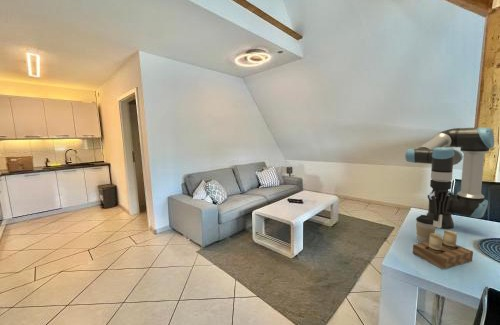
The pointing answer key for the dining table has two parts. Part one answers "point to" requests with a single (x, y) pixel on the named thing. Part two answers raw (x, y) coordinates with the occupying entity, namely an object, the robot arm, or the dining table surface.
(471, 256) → the board
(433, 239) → the peg
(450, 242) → the peg
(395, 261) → the dining table surface
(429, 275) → the dining table surface
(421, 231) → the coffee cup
